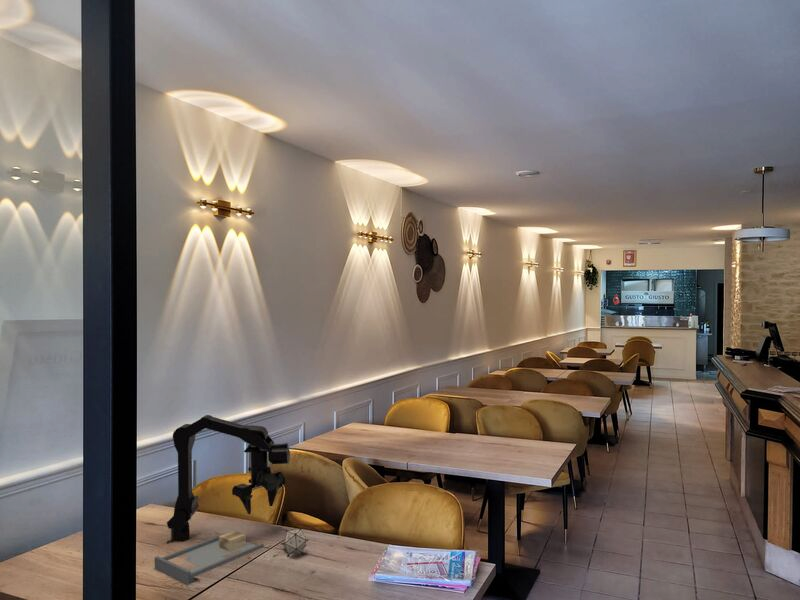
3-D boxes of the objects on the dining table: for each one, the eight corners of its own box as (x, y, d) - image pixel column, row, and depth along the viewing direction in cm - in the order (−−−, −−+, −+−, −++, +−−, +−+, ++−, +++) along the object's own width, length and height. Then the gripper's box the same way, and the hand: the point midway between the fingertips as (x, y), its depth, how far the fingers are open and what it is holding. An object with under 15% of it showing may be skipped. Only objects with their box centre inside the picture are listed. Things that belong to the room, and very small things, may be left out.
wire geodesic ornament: (298, 567, 188) (300, 550, 182) (274, 556, 190) (276, 539, 184) (311, 544, 195) (314, 527, 190) (288, 534, 197) (290, 516, 191)
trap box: (154, 568, 182) (154, 557, 182) (230, 539, 203) (229, 528, 203) (187, 584, 171) (187, 572, 171) (263, 551, 192) (263, 540, 192)
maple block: (219, 547, 193) (218, 536, 193) (234, 541, 198) (234, 530, 198) (230, 551, 189) (230, 540, 189) (245, 545, 194) (245, 534, 194)
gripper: (251, 474, 190) (252, 523, 190) (295, 461, 204) (296, 506, 204) (230, 469, 197) (231, 516, 197) (275, 457, 211) (276, 500, 211)
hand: (260, 509), depth 202 cm, fingers open, 9 cm apart
